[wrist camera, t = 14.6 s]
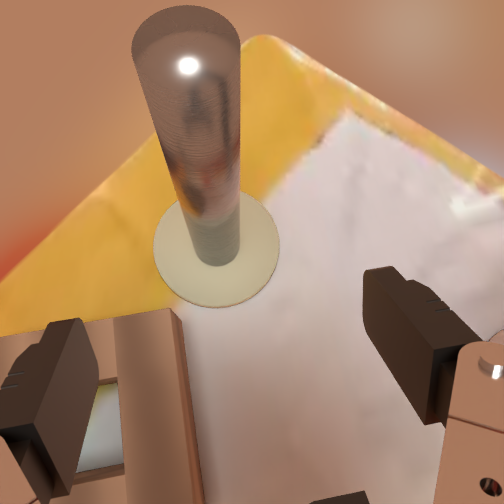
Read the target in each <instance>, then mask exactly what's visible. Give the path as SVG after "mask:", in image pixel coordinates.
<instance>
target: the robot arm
mask: <svg viewBox="0 0 504 504" xmlns="http://www.w3.org/2000/svg"><path fill="white" fill-rule="evenodd" d="M363 323H364V327H365V330H366V332H367V335H368V336H369V338H370V340H371V341H372V343H373V344H374V346H375V348H376V349H377V351H378V352H379V354H380V355H381V357H382V359H383V360H384V362H385V363H386V365H387V367H388V368H389V370H390V371H391V373H392V375H393V376H394V378H395V379H396V381H397V383H398V384H399V386H400V387H401V389H402V390H403V392H404V394H405V395H406V397H407V398H408V400H409V402H410V403H411V405H412V406H413V408H414V410H415V411H416V413H417V414H418V416H419V417H420V419H421V421H422V422H423V424H424V425H428V424H433V423H438V422H441V423H442V424H443V426H444V427H445V429H446V431H445V437H444V443H443V448H442V454H441V460H440V466H439V472H438V478H437V484H436V490H435V496H434V502H433V504H504V330H502V331H500V332H499V333H497V334H496V335H495V336H493V337H492V338H491V340H490V341H489V342H486V341H483V340H482V339H481V338H480V337H479V336H478V335H477V334H476V333H475V332H474V331H473V330H472V329H471V328H470V327H469V326H468V325H466V324H465V323H464V322H463V321H462V320H461V319H460V318H459V317H458V316H457V315H456V314H455V313H454V312H453V311H452V310H450V308H449V307H448V306H447V305H446V304H445V303H444V302H443V301H441V299H440V298H439V297H438V296H437V295H436V294H435V293H434V292H433V291H432V290H431V289H430V288H429V287H427V286H425V285H423V284H421V283H419V282H417V281H415V280H408V281H406V280H405V279H404V277H403V276H402V275H401V274H400V273H399V272H398V271H397V270H396V269H395V268H394V267H393V266H387V267H382V268H376V269H370V270H366V271H365V272H364V276H363ZM98 383H99V367H98V362H97V359H96V356H95V353H94V351H93V348H92V345H91V342H90V340H89V337H88V334H87V331H86V329H85V326H84V323H83V322H82V320H81V319H80V318H74V319H68V320H62V321H56V322H50V323H49V324H48V325H47V327H46V329H45V331H44V333H43V335H42V337H41V339H40V341H39V343H36V344H31V345H30V346H29V347H28V348H27V349H26V350H25V351H24V352H23V353H21V354H20V355H19V356H18V357H17V358H16V360H15V361H14V363H13V365H12V367H11V369H10V371H9V372H8V377H6V378H5V380H4V382H3V384H2V385H1V390H0V504H49V503H50V499H53V498H58V497H63V496H68V495H70V492H71V488H72V484H73V480H74V476H75V472H76V469H77V465H78V461H79V457H80V453H81V449H82V445H83V441H84V438H85V434H86V430H87V426H88V422H89V418H90V414H91V410H92V407H93V403H94V399H95V395H96V391H97V387H98ZM310 504H370V503H369V501H368V498H367V496H366V493H365V491H360V492H356V493H351V494H346V495H341V496H337V497H332V498H327V499H323V500H318V501H313V502H311V503H310Z"/></svg>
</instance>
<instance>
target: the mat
mask: <svg viewBox="0 0 504 504" xmlns="http://www.w3.org/2000/svg"><path fill="white" fill-rule="evenodd" d="M153 251H154V259H155V263H156V266H157V269H158V271H159V273H160V275H161V277H162V278H163V280H164V281H165V282H166V284H167V285H168V286H169V287H170V289H171V290H172V291H173V292H174V293H176V294H177V295H178V296H179V297H181V298H183V299H184V300H186V301H188V302H190V303H192V304H195V305H198V306H202V307H208V308H223V307H229V306H234V305H237V304H239V303H242V302H244V301H246V300H248V299H250V298H251V297H253V296H254V295H255V294H257V293H258V292H259V291H260V290H261V289H262V288H263V287H264V286H265V284H266V283H267V282H268V281H269V279H270V277H271V276H272V274H273V271H274V269H275V266H276V263H277V259H278V254H279V236H278V232H277V228H276V225H275V223H274V221H273V219H272V217H271V215H270V214H269V212H268V211H267V210H266V209H265V207H264V206H263V205H262V204H261V203H259V202H258V201H257V200H256V199H254V198H253V197H251V196H250V195H248V194H246V193H244V192H241V191H240V248H239V252H238V254H237V256H236V257H235V259H234V260H233V261H231V262H230V263H228V264H226V265H224V266H218V267H215V266H210V265H207V264H205V263H203V262H202V261H201V260H200V259H199V258H198V257H197V255H196V253H195V250H194V247H193V244H192V241H191V238H190V235H189V231H188V228H187V225H186V222H185V219H184V216H183V213H182V210H181V207H180V204H179V200H177V201H176V202H175V203H174V204H172V205H171V206H170V208H169V209H168V210H167V211H166V212H165V214H164V215H163V216H162V218H161V220H160V222H159V224H158V226H157V229H156V232H155V236H154V244H153Z"/></svg>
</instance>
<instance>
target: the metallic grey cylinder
mask: <svg viewBox="0 0 504 504" xmlns="http://www.w3.org/2000/svg"><path fill="white" fill-rule="evenodd" d="M132 57H133V61H134V64H135V67H136V70H137V73H138V76H139V79H140V83H141V86H142V89H143V92H144V95H145V98H146V101H147V104H148V107H149V110H150V113H151V116H152V120H153V123H154V126H155V129H156V132H157V135H158V138H159V141H160V145H161V148H162V151H163V154H164V157H165V160H166V163H167V166H168V169H169V173H170V176H171V179H172V182H173V185H174V188H175V191H176V194H177V197H178V200H179V204H180V207H181V210H182V213H183V216H184V219H185V222H186V225H187V228H188V231H189V235H190V238H191V241H192V244H193V247H194V250H195V253H196V255H197V257H198V258H199V259H200V260H201V261H202V262H203V263H205V264H207V265H210V266H215V267H218V266H224V265H226V264H228V263H230V262H231V261H233V260H234V259H235V257H236V256H237V254H238V252H239V248H240V40H239V37H238V34H237V32H236V30H235V28H234V27H233V26H232V24H231V23H230V22H229V21H228V20H227V19H226V18H225V17H223V16H222V15H220V14H219V13H217V12H215V11H213V10H210V9H207V8H204V7H200V6H191V5H190V6H189V5H183V6H175V7H170V8H167V9H164V10H161V11H159V12H157V13H155V14H154V15H152V16H150V17H149V18H148V19H146V21H144V22H143V23H142V24H141V26H140V27H139V29H138V30H137V31H136V34H135V35H134V38H133V41H132Z"/></svg>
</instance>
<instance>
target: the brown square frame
mask: <svg viewBox="0 0 504 504" xmlns="http://www.w3.org/2000/svg"><path fill="white" fill-rule="evenodd" d="M84 326H85V329H86V331H87V334H88V337H89V340H90V342H91V345H92V348H93V351H94V353H95V356H96V359H97V362H98V367H99V383H98V386H100V385H105V384H111V383H116V382H118V392H119V405H120V418H121V430H122V443H123V456H124V464H119V465H114V466H109V467H104V468H99V469H94V470H89V471H84V472H79V473H75V476H74V480H73V484H72V488H71V492H70V495H68V496H63V497H58V498H53V499H50V503H49V504H205V502H204V494H203V486H202V478H201V470H200V463H199V455H198V447H197V439H196V432H195V424H194V416H193V408H192V400H191V393H190V385H189V377H188V369H187V362H186V354H185V346H184V338H183V330H182V323H181V320H180V319H179V318H178V317H177V316H176V314H175V313H174V312H173V311H172V310H171V309H170V308H167V309H161V310H155V311H149V312H144V313H138V314H132V315H126V316H120V317H115V318H109V319H103V320H97V321H91V322H86V323H84ZM44 331H45V330H39V331H33V332H28V333H22V334H16V335H10V336H4V337H0V390H1V385H2V384H3V382H4V380H5V378H6V377H8V372H9V371H10V369H11V367H12V365H13V363H14V361H15V360H16V358H17V357H18V356H19V355H20V354H21V353H23V352H24V351H25V350H26V349H27V348H28V347H29V346H30V345H31V344H36V343H39V341H40V339H41V337H42V335H43V333H44Z"/></svg>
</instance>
